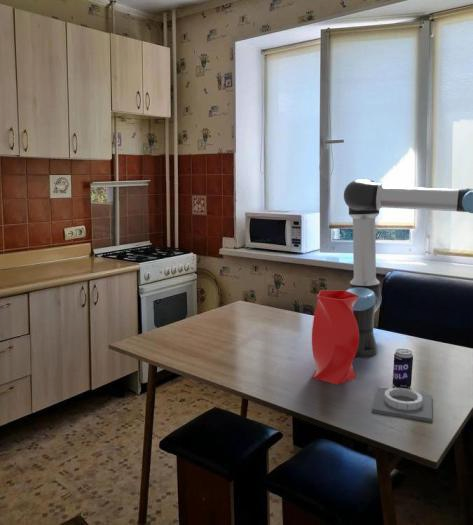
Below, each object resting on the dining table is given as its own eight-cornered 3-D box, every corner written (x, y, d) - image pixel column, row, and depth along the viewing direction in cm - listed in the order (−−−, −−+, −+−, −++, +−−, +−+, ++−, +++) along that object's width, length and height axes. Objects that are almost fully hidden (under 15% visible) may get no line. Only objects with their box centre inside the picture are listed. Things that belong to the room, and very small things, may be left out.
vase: (321, 364, 180) (324, 287, 175) (362, 371, 173) (366, 292, 168) (307, 379, 167) (310, 297, 162) (350, 388, 160) (354, 302, 155)
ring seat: (371, 412, 144) (372, 402, 144) (377, 389, 159) (377, 380, 159) (431, 422, 139) (432, 411, 138) (431, 398, 154) (432, 388, 153)
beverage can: (389, 383, 164) (391, 348, 162) (406, 383, 164) (408, 348, 162) (396, 391, 158) (398, 354, 156) (413, 390, 159) (416, 354, 157)
